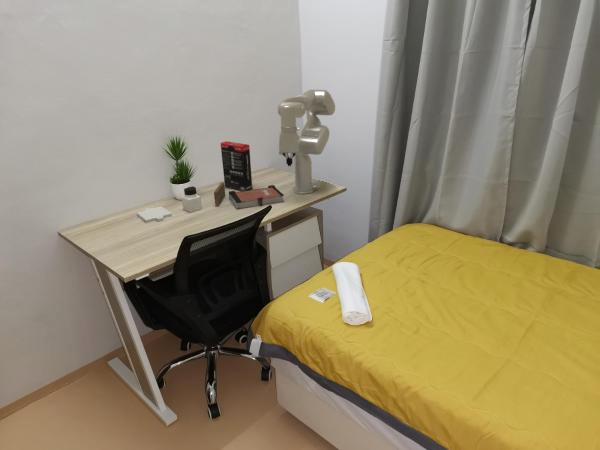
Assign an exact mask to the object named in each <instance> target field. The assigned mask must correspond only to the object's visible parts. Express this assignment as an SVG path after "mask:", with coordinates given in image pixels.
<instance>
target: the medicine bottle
mask: <svg viewBox="0 0 600 450" xmlns="http://www.w3.org/2000/svg"><path fill="white" fill-rule="evenodd" d="M183 193H184V195H183V196H181V203H182V210H185V211H186V212H189V213H194V212H196V211H199V210H202V209H203V207H202V206H203V205H202V198H201V196H200V195H198V193H197V188H196V187H195V186H192V185H190V186H186V187H185V188H183Z"/></svg>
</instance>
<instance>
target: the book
mask: <svg viewBox="0 0 600 450" xmlns="http://www.w3.org/2000/svg"><path fill="white" fill-rule="evenodd" d="M284 196H285V194H284V193H282V192H281V191H280V190H279V189H278V188H277V187H276V186H275V185H274V184H271V185H268V187H262V188H256V189H254V188H253V189H251V190H247V191H240V190H239V191H235V190H230V191H229V190H228V198H229V199H228V200H229V201H230V202H231V205H233V206H234V208H235V209H236V210H242V209H243V210H244V209H249V208H256V207H262V206H266V205H274V204H280V203H284V202H285V201H284V198H283V197H284Z"/></svg>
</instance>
